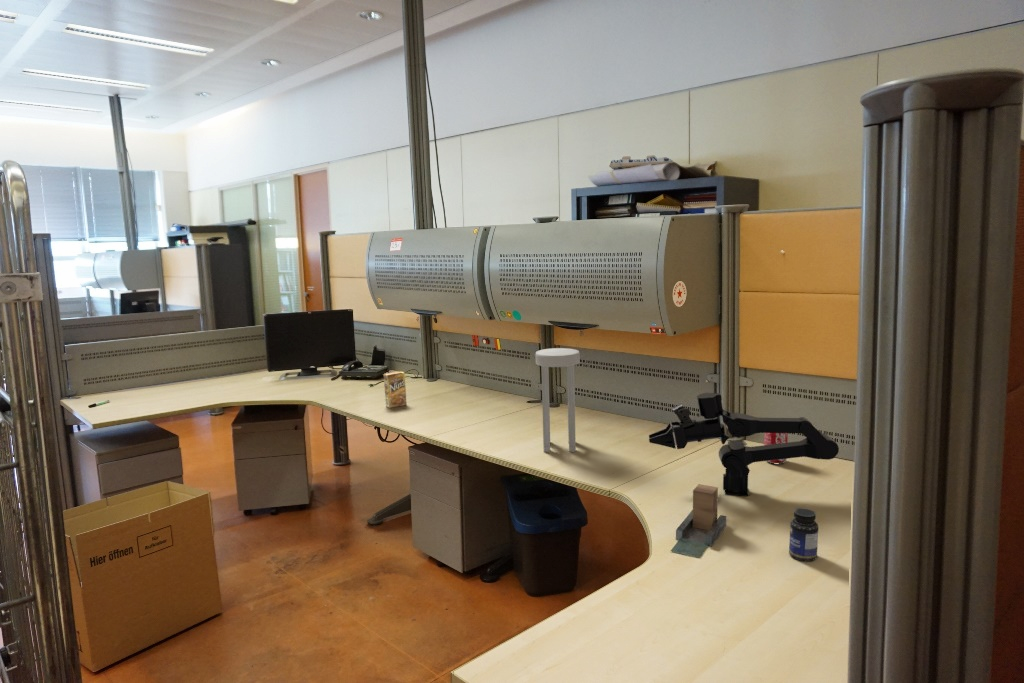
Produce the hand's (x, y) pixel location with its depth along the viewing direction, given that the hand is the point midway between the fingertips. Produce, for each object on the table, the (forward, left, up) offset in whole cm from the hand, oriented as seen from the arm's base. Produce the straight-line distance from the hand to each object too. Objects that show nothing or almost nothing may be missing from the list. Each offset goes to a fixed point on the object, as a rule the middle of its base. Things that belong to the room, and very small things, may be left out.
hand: (649, 438), depth 204 cm
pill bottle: (-39, +35, -16) cm, 55 cm away
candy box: (+121, -78, -16) cm, 145 cm away
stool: (+35, -34, -16) cm, 52 cm away
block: (-16, +24, -15) cm, 33 cm away
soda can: (-38, -32, -16) cm, 52 cm away
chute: (-15, +30, -16) cm, 37 cm away
